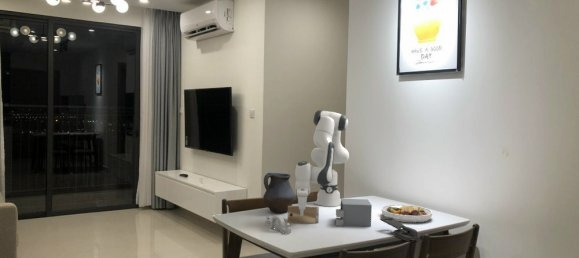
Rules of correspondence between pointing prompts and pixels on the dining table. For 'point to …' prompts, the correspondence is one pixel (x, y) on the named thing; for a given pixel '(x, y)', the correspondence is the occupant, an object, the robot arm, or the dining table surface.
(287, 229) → the gateway
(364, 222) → the cabinet
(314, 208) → the cabinet door
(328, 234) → the dining table surface
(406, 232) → the dark grey clamp
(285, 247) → the dining table surface
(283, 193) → the pitcher
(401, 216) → the bowl
